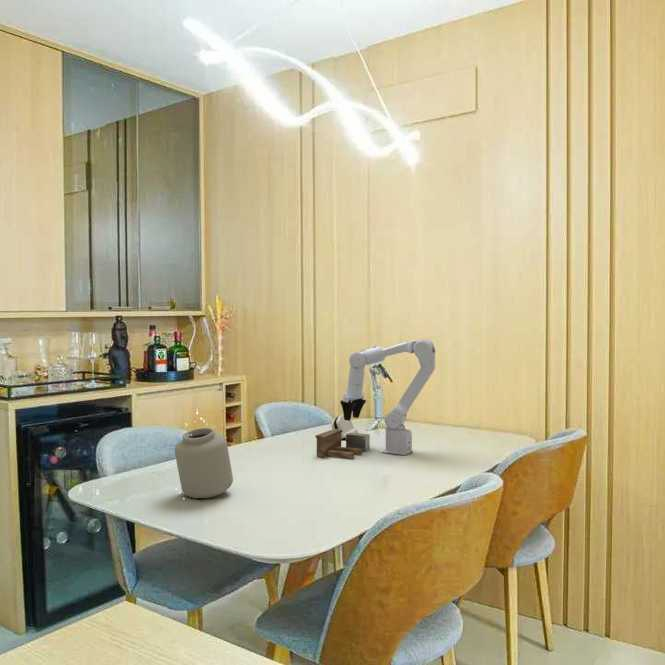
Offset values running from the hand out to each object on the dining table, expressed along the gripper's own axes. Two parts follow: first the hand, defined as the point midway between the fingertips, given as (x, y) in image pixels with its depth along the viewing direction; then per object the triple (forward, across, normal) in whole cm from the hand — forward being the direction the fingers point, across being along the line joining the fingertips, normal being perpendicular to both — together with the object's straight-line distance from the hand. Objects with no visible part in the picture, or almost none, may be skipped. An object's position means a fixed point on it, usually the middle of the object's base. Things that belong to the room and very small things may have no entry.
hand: (351, 418), depth 251 cm
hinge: (+13, -21, -12) cm, 28 cm away
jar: (+15, +76, -10) cm, 78 cm away
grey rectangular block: (+11, 0, +4) cm, 12 cm away
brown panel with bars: (+12, +11, +2) cm, 16 cm away
